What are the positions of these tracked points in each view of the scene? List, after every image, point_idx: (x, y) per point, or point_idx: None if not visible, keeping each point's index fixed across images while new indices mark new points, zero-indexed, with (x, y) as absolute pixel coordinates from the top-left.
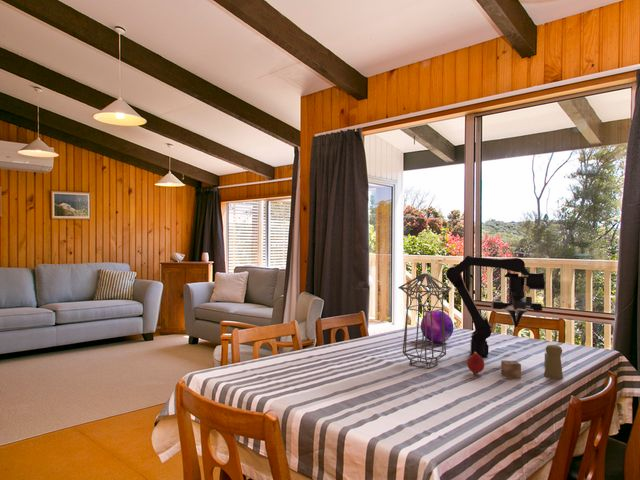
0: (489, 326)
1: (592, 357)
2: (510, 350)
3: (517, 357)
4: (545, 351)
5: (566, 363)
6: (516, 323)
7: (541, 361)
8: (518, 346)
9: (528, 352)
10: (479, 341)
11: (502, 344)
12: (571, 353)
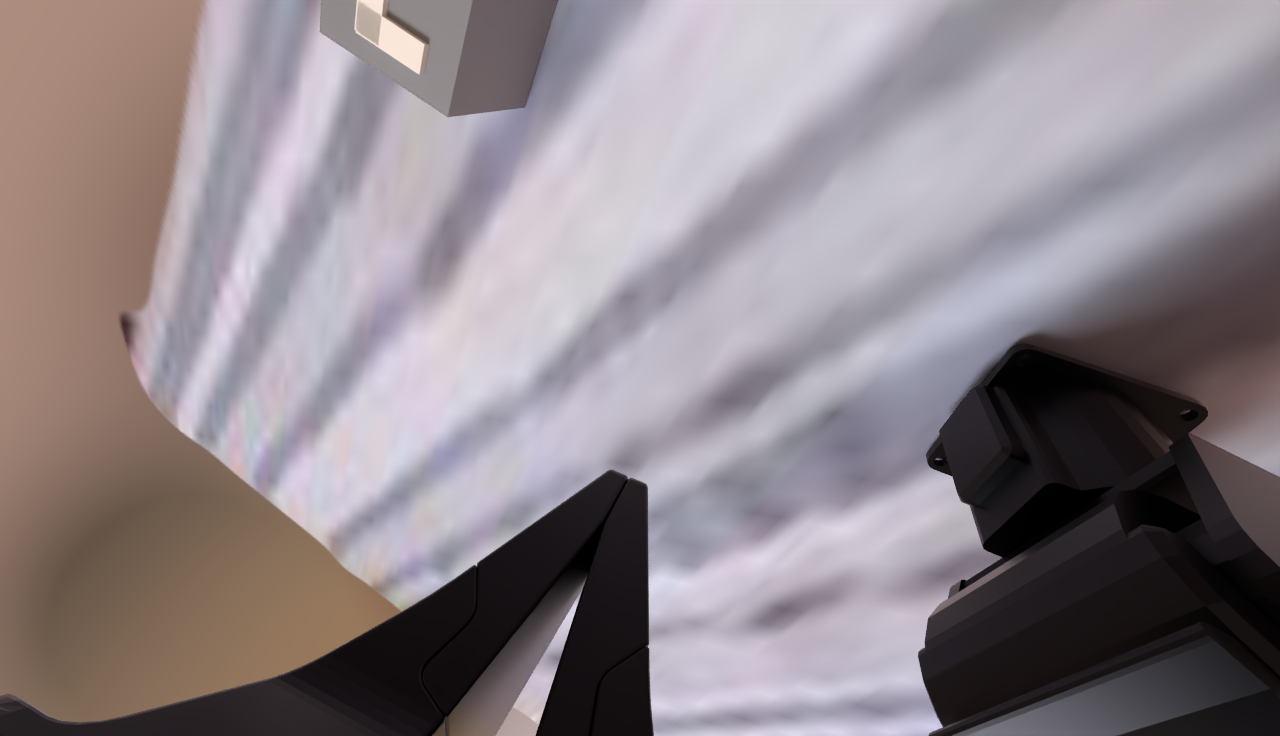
0: (1266, 678)
1: (209, 286)
2: None
3: (678, 325)
4: (451, 68)
5: (358, 107)
6: (598, 521)
7: (531, 177)
8: None
9: (530, 442)
10: (1271, 479)
11: None
12: (302, 383)
